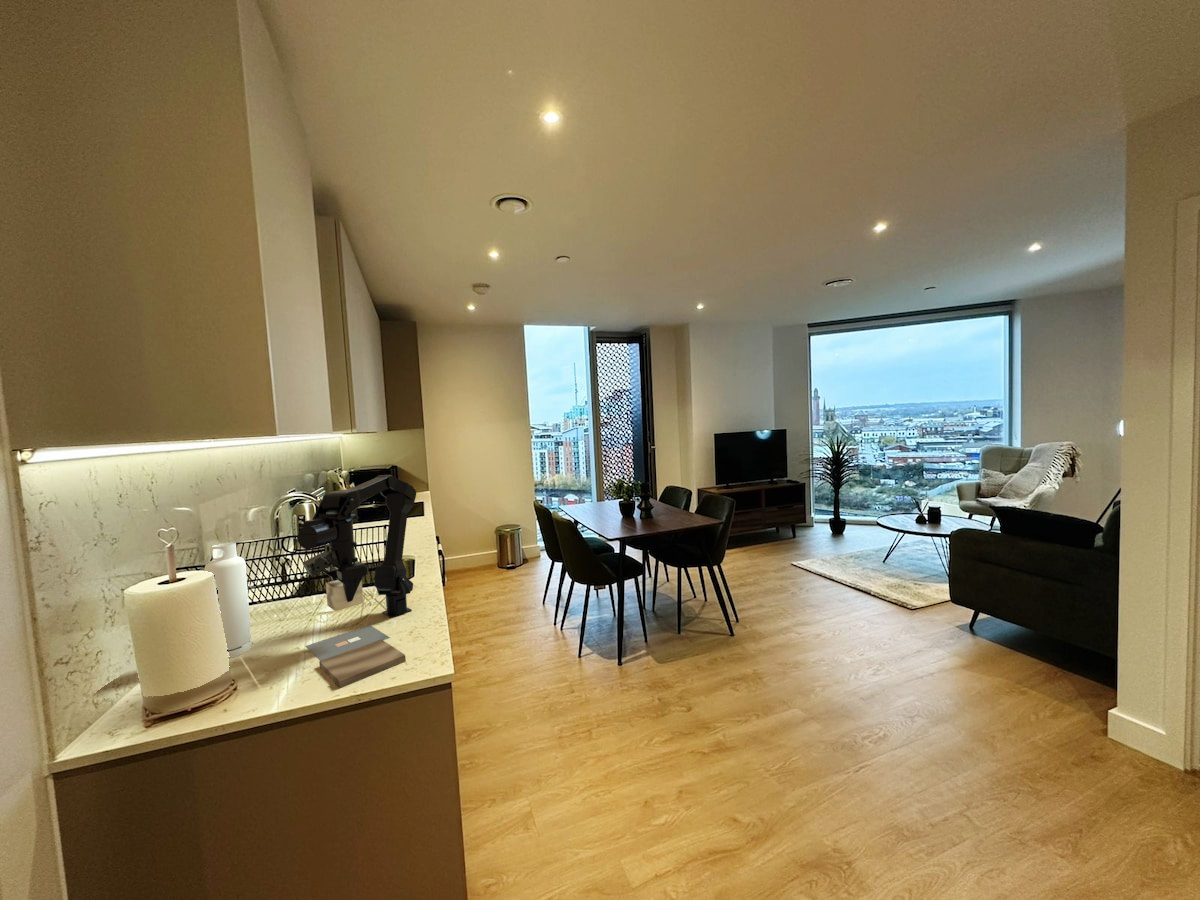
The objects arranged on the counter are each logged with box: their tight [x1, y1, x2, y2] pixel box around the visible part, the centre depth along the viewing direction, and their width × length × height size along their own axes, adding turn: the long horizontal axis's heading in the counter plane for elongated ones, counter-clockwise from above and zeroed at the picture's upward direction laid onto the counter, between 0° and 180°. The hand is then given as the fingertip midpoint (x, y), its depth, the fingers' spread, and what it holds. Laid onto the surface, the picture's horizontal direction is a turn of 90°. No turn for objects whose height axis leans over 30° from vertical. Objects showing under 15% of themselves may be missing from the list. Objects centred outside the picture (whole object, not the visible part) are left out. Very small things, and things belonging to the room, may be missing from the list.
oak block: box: [325, 580, 364, 612], centre depth 115 cm, size 6×6×6 cm
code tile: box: [304, 624, 391, 661], centre depth 116 cm, size 14×16×1 cm
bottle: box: [204, 542, 253, 659], centre depth 113 cm, size 8×8×28 cm
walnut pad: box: [318, 639, 407, 689], centre depth 104 cm, size 14×14×2 cm
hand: (345, 598), depth 116 cm, fingers closed on oak block, 6 cm apart
